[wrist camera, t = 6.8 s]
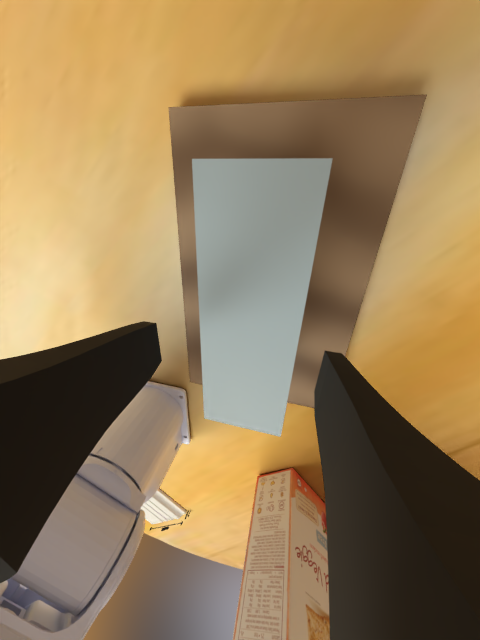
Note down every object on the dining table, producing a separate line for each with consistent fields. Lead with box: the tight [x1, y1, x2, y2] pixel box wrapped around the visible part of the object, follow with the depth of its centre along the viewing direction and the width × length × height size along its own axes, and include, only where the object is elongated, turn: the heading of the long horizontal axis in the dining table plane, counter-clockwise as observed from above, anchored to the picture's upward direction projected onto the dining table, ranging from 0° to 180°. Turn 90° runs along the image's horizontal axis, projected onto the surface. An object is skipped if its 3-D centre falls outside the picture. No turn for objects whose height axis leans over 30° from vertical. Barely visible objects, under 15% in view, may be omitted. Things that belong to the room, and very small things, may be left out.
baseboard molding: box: [141, 489, 191, 531], centre depth 37 cm, size 31×3×12 cm
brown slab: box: [169, 95, 427, 408], centre depth 16 cm, size 22×14×5 cm, turn 178°
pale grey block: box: [192, 158, 333, 437], centre depth 12 cm, size 14×5×3 cm, turn 178°
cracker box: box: [233, 468, 330, 640], centre depth 20 cm, size 14×6×21 cm, turn 40°
